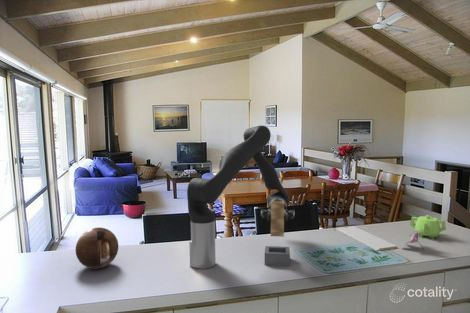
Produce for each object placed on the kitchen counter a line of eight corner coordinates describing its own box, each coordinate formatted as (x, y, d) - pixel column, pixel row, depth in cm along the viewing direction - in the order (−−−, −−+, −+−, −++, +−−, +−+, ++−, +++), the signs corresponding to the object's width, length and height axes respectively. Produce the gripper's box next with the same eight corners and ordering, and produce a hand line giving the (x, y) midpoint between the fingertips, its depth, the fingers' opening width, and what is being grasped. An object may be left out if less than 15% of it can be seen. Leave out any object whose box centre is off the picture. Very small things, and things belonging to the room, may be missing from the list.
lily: (418, 245, 159) (407, 226, 161) (441, 243, 149) (429, 222, 150) (401, 258, 154) (390, 238, 155) (423, 257, 144) (411, 235, 145)
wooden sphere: (77, 262, 139) (75, 225, 138) (118, 257, 145) (116, 221, 143) (75, 278, 125) (73, 236, 124) (120, 271, 131) (118, 231, 129)
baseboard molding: (373, 252, 150) (397, 249, 153) (373, 245, 150) (397, 243, 153) (332, 231, 179) (353, 229, 183) (332, 225, 179) (353, 223, 183)
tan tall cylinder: (270, 236, 137) (270, 202, 136) (270, 233, 141) (271, 200, 139) (283, 236, 136) (284, 203, 135) (283, 233, 140) (284, 201, 139)
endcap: (264, 264, 136) (264, 253, 136) (265, 257, 144) (265, 245, 144) (289, 266, 135) (289, 254, 134) (289, 258, 143) (289, 246, 142)
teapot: (408, 232, 174) (408, 213, 173) (428, 231, 176) (429, 211, 175) (425, 240, 162) (426, 219, 161) (447, 239, 165) (448, 218, 164)
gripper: (260, 198, 152) (258, 208, 136) (295, 199, 151) (296, 209, 134) (260, 216, 153) (258, 228, 136) (294, 217, 151) (296, 229, 135)
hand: (277, 219), depth 135 cm, fingers closed on tan tall cylinder, 5 cm apart
